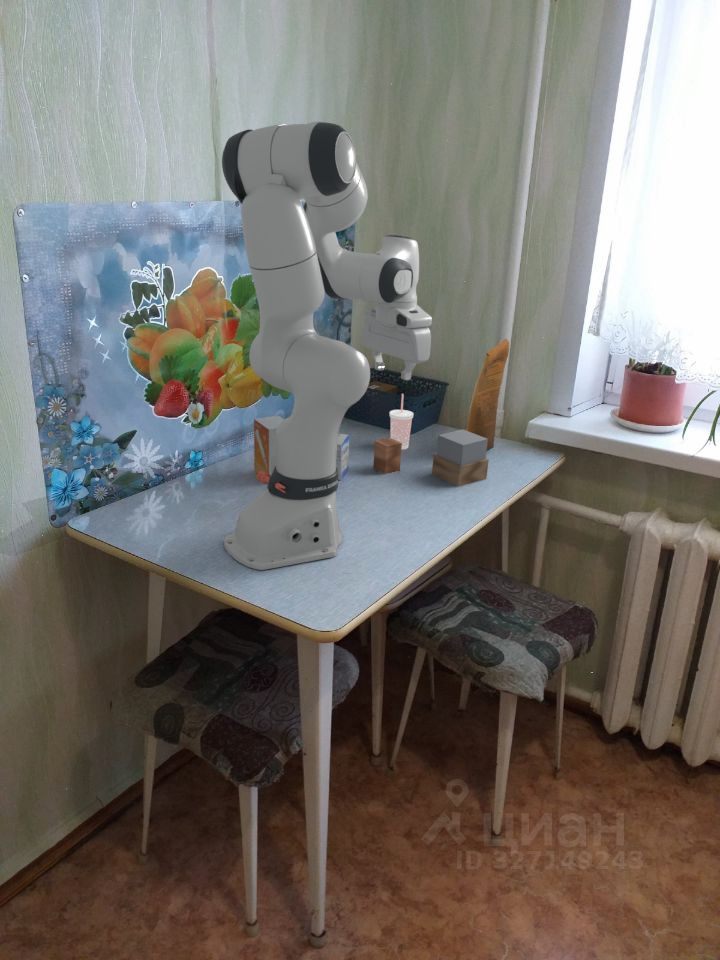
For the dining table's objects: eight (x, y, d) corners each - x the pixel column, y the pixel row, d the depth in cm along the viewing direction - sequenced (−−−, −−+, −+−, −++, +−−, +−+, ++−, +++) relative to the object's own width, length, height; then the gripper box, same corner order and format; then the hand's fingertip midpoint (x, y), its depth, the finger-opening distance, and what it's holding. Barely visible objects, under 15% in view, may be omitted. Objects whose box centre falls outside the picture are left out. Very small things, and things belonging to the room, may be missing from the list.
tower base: (458, 487, 172) (460, 466, 170) (431, 474, 179) (433, 454, 177) (486, 479, 177) (488, 459, 175) (459, 467, 184) (461, 448, 182)
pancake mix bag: (506, 444, 201) (519, 338, 190) (475, 464, 186) (487, 351, 175) (483, 438, 204) (494, 334, 194) (451, 458, 189) (461, 346, 179)
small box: (253, 472, 175) (253, 418, 170) (278, 468, 178) (278, 415, 173) (268, 484, 168) (268, 428, 164) (294, 480, 172) (294, 425, 167)
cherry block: (385, 474, 177) (386, 446, 175) (373, 468, 180) (374, 440, 178) (399, 470, 180) (401, 442, 177) (388, 464, 183) (389, 437, 180)
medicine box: (341, 481, 172) (342, 445, 169) (321, 478, 173) (322, 443, 170) (348, 469, 179) (349, 434, 176) (330, 466, 180) (331, 432, 177)
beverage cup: (385, 442, 198) (388, 390, 192) (408, 442, 199) (411, 390, 194) (390, 450, 192) (393, 397, 187) (413, 450, 193) (417, 397, 188)
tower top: (461, 466, 171) (463, 445, 169) (436, 455, 177) (438, 435, 175) (485, 459, 176) (487, 438, 174) (460, 449, 181) (462, 429, 180)
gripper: (356, 306, 172) (353, 365, 177) (415, 321, 157) (410, 386, 162) (378, 304, 175) (375, 362, 181) (437, 319, 161) (432, 383, 166)
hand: (392, 374), depth 171 cm, fingers open, 8 cm apart
